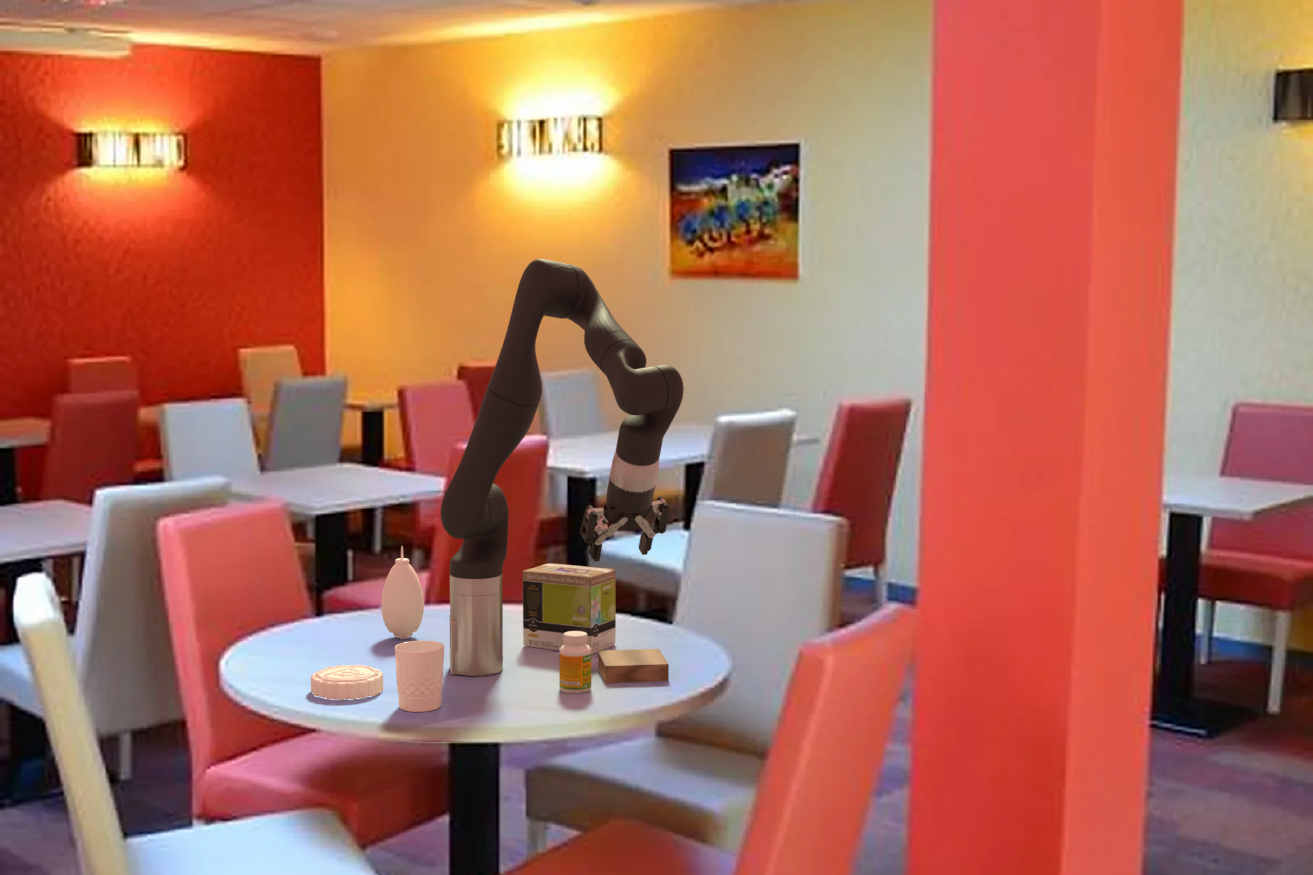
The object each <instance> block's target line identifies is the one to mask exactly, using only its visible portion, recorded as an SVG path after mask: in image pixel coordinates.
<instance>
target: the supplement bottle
mask: <svg viewBox="0 0 1313 875" xmlns="http://www.w3.org/2000/svg"><path fill="white" fill-rule="evenodd" d="M563 640H564V642H565V645H563V646H562V647H561V648H560V650H559V679H558V680H559V682H558V684H559V690H560V691H561V692H563V693H566V694H584V693H588V692H589V691H591V690H592V654H591V648H590V646H588V645H586V642H587V633H586V632H582V631H569V632H565V633H564V639H563Z"/></svg>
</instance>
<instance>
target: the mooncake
mask: <svg viewBox="0 0 1313 875" xmlns="http://www.w3.org/2000/svg"><path fill="white" fill-rule="evenodd" d="M380 691H383V692H384V672H382V671H381V670H380V669H379V668H374V667H371V666H370V665H363V664H354V665H351V664H350V665H348V664H347V665H344V664H343V665H342V664H340V665H336V666H334V665H333V666H328V667H326V668H323V669H320V670H318V671H317V670H316V671H315V672H314V673H312V674H311V676H310V693H311V692H312V693H314V695H315V696H319V697H323V698H325V697H326V698H327V699H338V700H344V699H356V698H365V697H367V696H374V697H375V696H378V695H377V694H379V693H380V694H381V692H380ZM380 694H379V695H380ZM314 695H313V696H314ZM327 699H326V700H327Z"/></svg>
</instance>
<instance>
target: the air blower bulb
mask: <svg viewBox="0 0 1313 875" xmlns="http://www.w3.org/2000/svg"><path fill="white" fill-rule="evenodd" d="M383 585H384V586H383V589H382V595H381V603H380V605H381V614H382V620H383V622H384V625H385V627H386V629H387V630H388V632H389V633H391V634H393V636H394V637H395V638H397V639H399V638H400V639H399V640H406V639H409V637H412V636H413V633H415V632H417V631H418V629H419V628H420V626H421V623H422V620H423V616H424V612H425V602H424V600H425V598H424V593H423V589H422V588H423V587H422V585H421V582H420V579H419V577H418V574H417V572H416V571H415V569H414V567H413V566H412V565H411V564H410V559H409V558H405V557H404V547H403V545H401V547H400V558H396V559H395V561H394V565H393V566H392V567H391V568H390V570H389V573H388V574H387V577H386V579H385V582H384V584H383Z"/></svg>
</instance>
